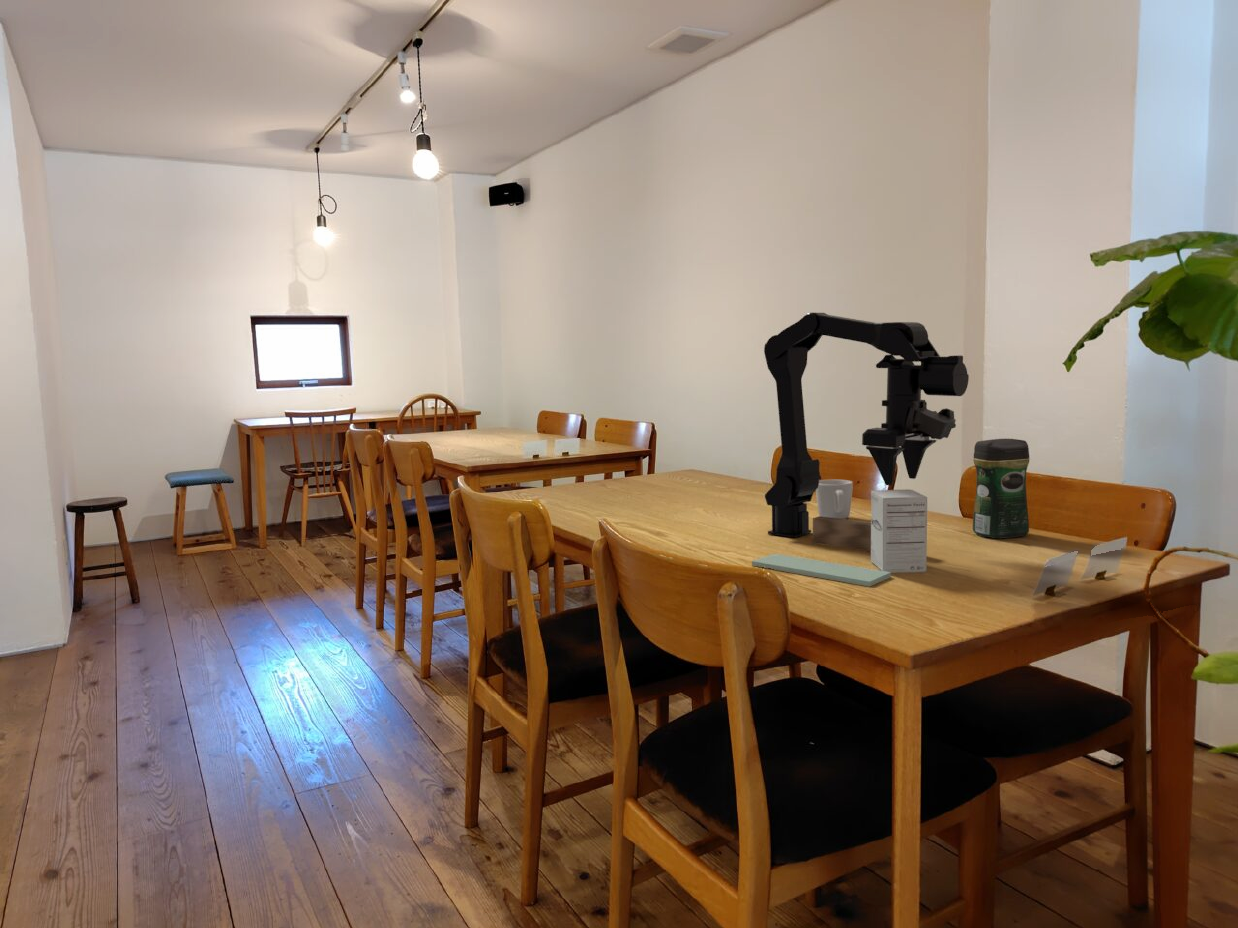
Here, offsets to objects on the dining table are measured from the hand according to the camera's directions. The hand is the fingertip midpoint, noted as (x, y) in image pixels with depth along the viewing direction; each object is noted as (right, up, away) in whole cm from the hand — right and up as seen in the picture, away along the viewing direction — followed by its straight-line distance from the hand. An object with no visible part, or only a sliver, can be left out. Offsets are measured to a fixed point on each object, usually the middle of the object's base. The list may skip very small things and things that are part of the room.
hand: (900, 481), depth 149 cm
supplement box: (-4, -14, -9) cm, 18 cm away
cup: (-3, -9, +32) cm, 33 cm away
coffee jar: (+23, -11, +12) cm, 28 cm away
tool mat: (-17, -15, -10) cm, 25 cm away
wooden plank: (-5, -13, +5) cm, 14 cm away
